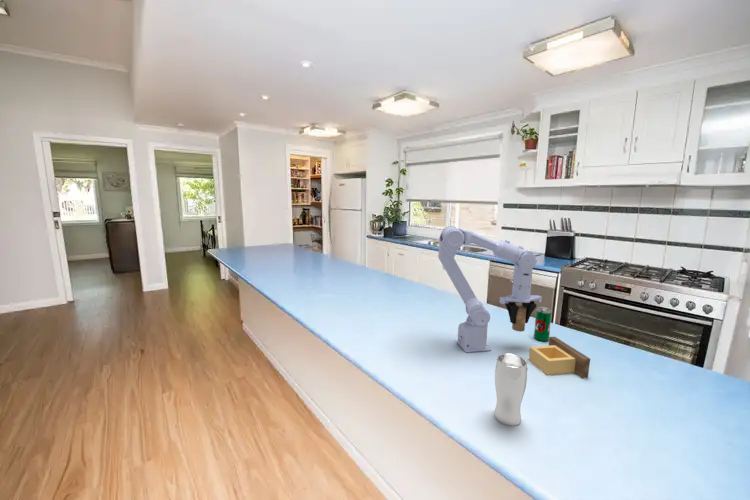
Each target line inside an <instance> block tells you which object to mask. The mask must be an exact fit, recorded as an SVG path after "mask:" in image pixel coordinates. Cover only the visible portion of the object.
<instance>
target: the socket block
mask: <svg viewBox="0 0 750 500" xmlns="http://www.w3.org/2000/svg"><path fill="white" fill-rule="evenodd" d="M528 360H529V361H530V362H531V363H532V364H533V365H535V367H536V368H538V369H540V371H542V372H543V373H544V374H545V375H547V376H549V375H551V376H552V375H561V374H562V375H563V374H574V371H575V362H576V359H575V358H574V357H572V356H571V355H569V354H568V353H566V352H565V351H563V350H562V349H560V348H559V347H557V346H556V345H551V346H549V345H540V346H530V347H529V357H528Z"/></svg>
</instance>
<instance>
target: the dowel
mask: <svg viewBox="0 0 750 500" xmlns="http://www.w3.org/2000/svg"><path fill="white" fill-rule="evenodd" d="M516 305H517V306H518V307H519V309H518V311H517V315H516V323H515V324H513V323H511V324H512V325H511V326H512V327H511V329H512V330H513V331H516V332H525V330H526V323H525V319H526V307H525V306H522V304H521V305H519V304H516Z"/></svg>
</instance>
